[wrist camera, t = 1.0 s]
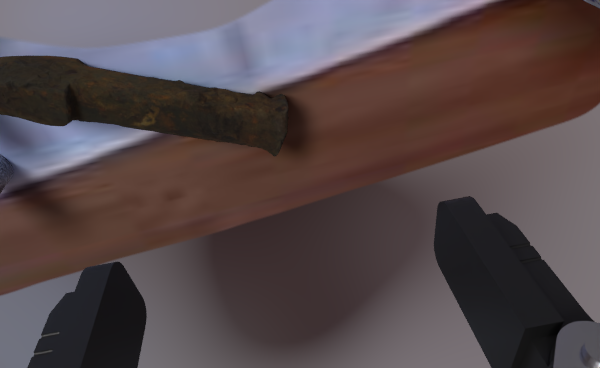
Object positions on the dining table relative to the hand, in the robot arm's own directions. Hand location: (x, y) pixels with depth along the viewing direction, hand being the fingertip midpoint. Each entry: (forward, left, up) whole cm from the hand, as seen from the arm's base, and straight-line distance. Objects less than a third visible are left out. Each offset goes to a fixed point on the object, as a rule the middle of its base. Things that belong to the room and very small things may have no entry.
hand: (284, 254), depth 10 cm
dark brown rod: (+9, -3, -20) cm, 22 cm away
